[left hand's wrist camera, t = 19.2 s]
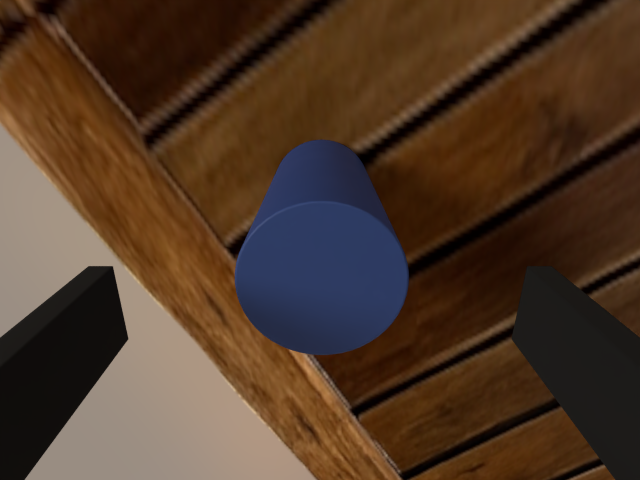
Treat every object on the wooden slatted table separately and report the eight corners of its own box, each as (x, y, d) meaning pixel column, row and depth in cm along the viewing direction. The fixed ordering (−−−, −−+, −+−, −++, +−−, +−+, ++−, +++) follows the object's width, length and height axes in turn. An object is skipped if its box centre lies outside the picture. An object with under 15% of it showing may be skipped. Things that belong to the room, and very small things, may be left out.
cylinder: (259, 161, 25) (203, 240, 13) (349, 124, 24) (376, 172, 12) (296, 243, 27) (277, 375, 15) (380, 211, 26) (430, 325, 14)
